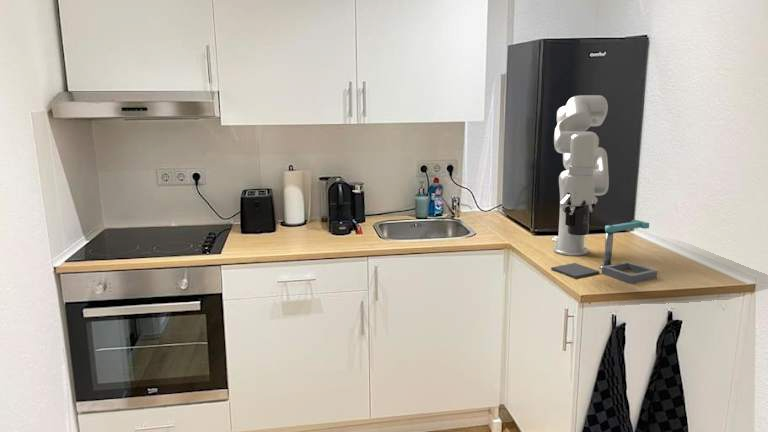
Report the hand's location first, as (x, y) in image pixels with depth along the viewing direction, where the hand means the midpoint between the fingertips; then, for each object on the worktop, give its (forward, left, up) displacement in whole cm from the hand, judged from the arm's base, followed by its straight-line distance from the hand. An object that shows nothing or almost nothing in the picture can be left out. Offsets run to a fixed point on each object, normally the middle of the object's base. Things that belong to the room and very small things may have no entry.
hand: (577, 224), depth 189 cm
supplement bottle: (0, 0, -3) cm, 3 cm away
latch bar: (+3, +19, -3) cm, 20 cm away
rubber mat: (0, 0, -17) cm, 17 cm away
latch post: (+3, +12, -17) cm, 21 cm away
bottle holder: (+12, +12, -17) cm, 24 cm away
